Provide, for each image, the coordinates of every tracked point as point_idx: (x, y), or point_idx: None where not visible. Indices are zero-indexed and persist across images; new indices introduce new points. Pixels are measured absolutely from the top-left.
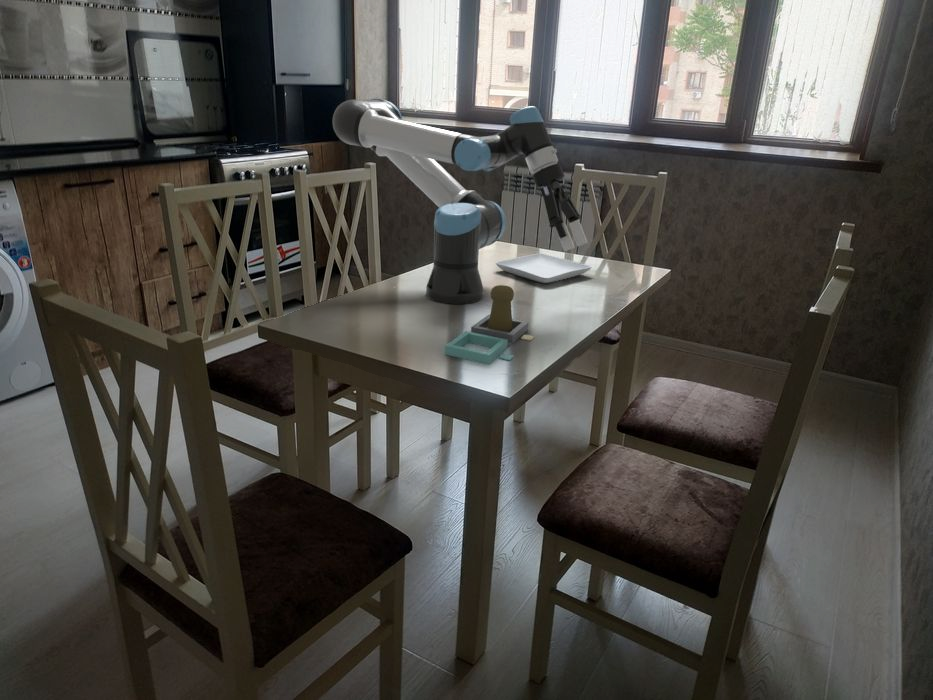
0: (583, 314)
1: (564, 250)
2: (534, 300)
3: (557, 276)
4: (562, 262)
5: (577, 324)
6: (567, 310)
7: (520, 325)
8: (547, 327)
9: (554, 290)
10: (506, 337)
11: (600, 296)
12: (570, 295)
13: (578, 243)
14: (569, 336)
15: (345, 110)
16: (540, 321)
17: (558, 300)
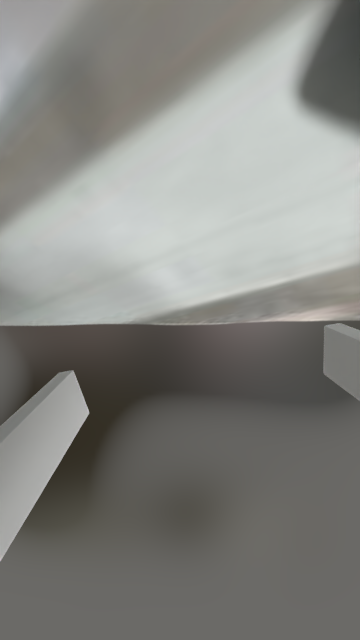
0: (140, 291)
1: (57, 379)
2: (140, 132)
3: None
4: None
5: (85, 302)
6: (137, 259)
7: None
8: (16, 271)
9: (296, 135)
10: None
11: (280, 276)
12: (258, 214)
13: (334, 341)
14: (29, 311)
15: None
16: (23, 245)
17: (193, 206)
